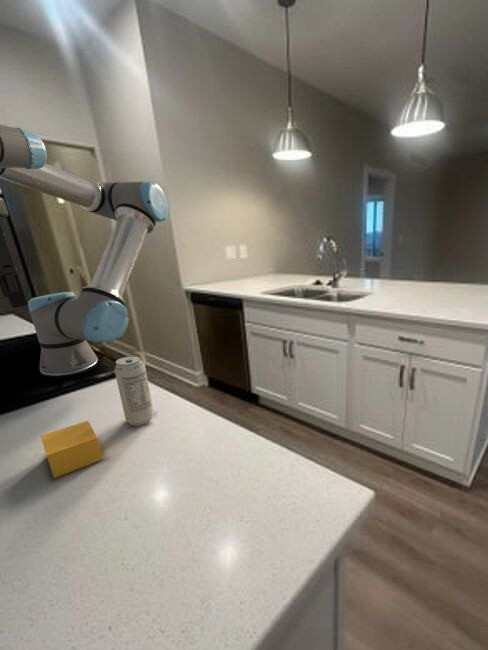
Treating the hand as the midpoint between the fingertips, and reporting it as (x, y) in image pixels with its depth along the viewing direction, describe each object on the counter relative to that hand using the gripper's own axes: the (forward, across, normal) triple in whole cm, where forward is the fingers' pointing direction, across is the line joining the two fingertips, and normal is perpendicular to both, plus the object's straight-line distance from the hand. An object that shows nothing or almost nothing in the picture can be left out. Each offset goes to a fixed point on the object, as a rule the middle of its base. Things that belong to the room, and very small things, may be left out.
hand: (15, 301), depth 77 cm
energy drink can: (+26, +24, +14) cm, 38 cm away
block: (+26, +30, -1) cm, 39 cm away
